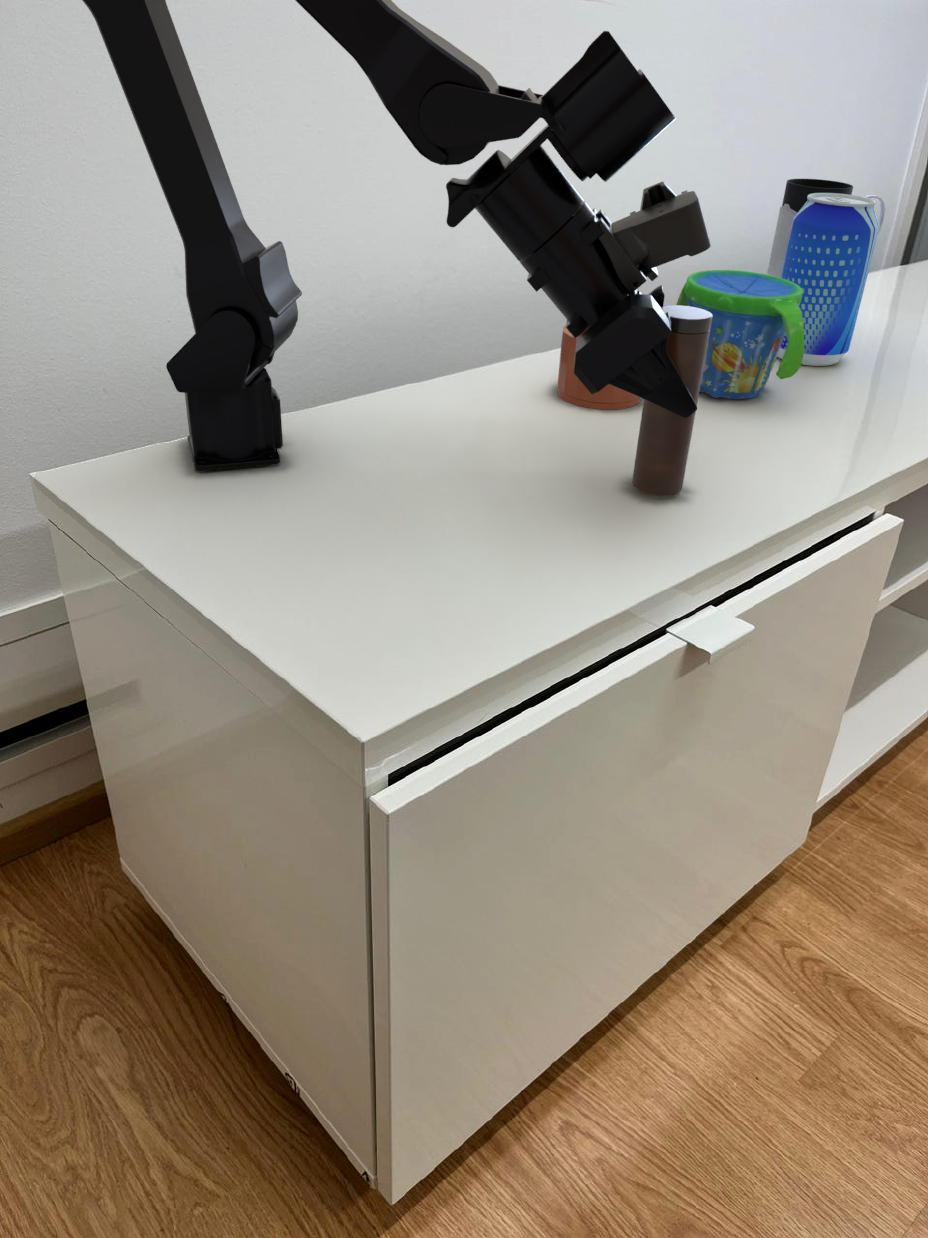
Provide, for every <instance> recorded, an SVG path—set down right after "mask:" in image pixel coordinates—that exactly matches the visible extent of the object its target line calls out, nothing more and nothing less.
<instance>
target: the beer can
mask: <svg viewBox="0 0 928 1238" xmlns="http://www.w3.org/2000/svg"><path fill="white" fill-rule="evenodd" d="M807 199H808V200H807V202H806V203H805V204H804V206H803V207H802V208H801V209H800V211H799V212H798V213H797V214H796V215H795V217H794V219H793V223H792V228H791V233H790V237H789V242H788V247H787V252H786V257H785V262H784V266H783V271H782V276H781V278H783V279H786V280H788V281H791V282H793V283H795V284H797V285H798V286H800V287H801V289H802V290H803V294H802V298H801V302H800V304H799V308H800V310H801V313H802V318H803V322H804V352H803V359H802V364H801V366H802V365H804V366H811V367H822V366H823V367H824V366H832V365H835V364H837V363H839V361H840V359H842V357H843V356H845V355H846V354H847V353H848V352H849V351H850V347H851V343H852V339H853V336H854V330H855V327H856V324H857V320H858V316H859V311H860V307H861V302H862V300H863V295H864V293H865V287H866V284H867V279H868V275H869V271H870V268H871V263H872V260H873V256H874V251H875V248H876V244H877V240H878V237H879V235H878V232H879V222H878V220H879V218H878V217H877V213H876V209H875V205H876V204H877V201H876V199H874V198H866V197H864V196H861V195H854V194H852V195H848V194H837V193H813V194H809V195H808V196H807ZM877 236H878V237H877ZM787 345H788V341H787V337H786V334H785V336H784V338H783V340H782V343H781V346H780V350H779V352H778V355H777V358H778V359H780V360H782V358H783V356H784V353H785V350H786V348H787Z"/></svg>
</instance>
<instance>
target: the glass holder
mask: <svg viewBox="0 0 928 1238" xmlns="http://www.w3.org/2000/svg"><path fill="white" fill-rule="evenodd" d="M853 190H854V185H852V184H850V183H847V182H841V181H837V180H836V181H835V180H828V179H819V178H789V179H787V180H786V184H785V189H784V194H783V199H782V204H781V206H780V207H779V212H778V216H777V221H776V226H775V231H774V237H773V240H772V242H773V243H772V245H771V246H772V247H771V251H770V255H769V256H770V257H769V262H768V266H767V271H766V275H771V276H775V277H779V278H781V276H782V271H783V266H784V262H785V257H786V252H787V247H788V242H789V237H790V233H791V228H792V223H793V219H794V217H795V215H796V214H797V213H798V212H799V211H800V209H801V208H802V207H803V206H804V204H805V203H806V202H807V200H808V199H807V196H808V195H809V194H813V193H837V194H848V195H853ZM863 197H866V198H870V199H874V200H877V201H878V203H879V208H880V209H879V217H878V222H879V232H878V236H877V238H878V237H879V235H880V233H881V231H882V227H883V224H884V220H885V216H886V211H887V210H886V208H887V207H886V204H885V201H884V199H883V198H882V197H880V196H878V195H876V194H867V195H864V196H863Z"/></svg>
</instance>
